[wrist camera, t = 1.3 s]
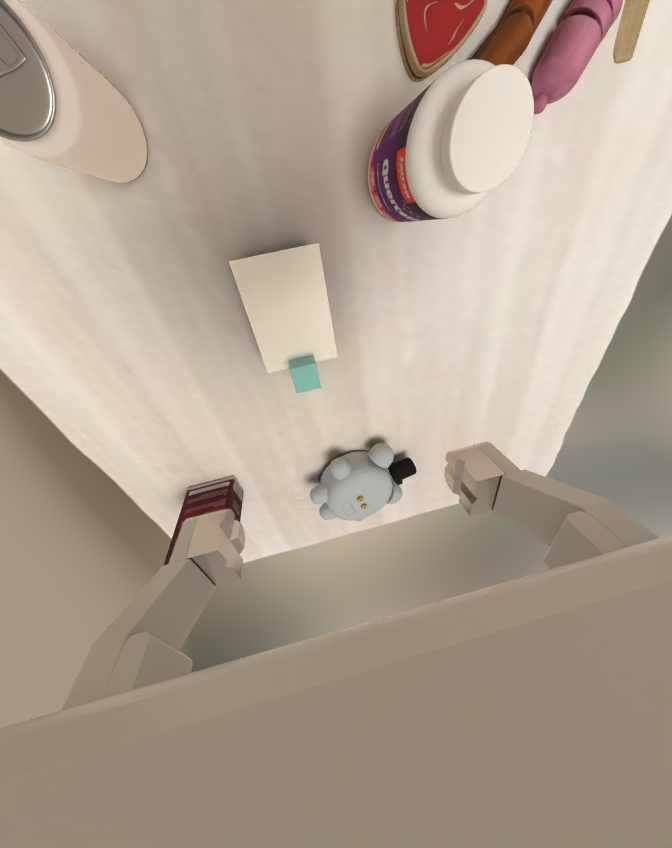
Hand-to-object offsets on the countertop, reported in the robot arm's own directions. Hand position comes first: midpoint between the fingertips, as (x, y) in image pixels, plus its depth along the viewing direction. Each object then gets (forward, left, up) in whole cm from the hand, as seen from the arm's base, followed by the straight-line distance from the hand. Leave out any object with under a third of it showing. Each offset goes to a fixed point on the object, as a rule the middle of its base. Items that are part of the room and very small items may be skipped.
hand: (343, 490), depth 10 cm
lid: (0, -1, -26) cm, 26 cm away
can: (-17, -12, -30) cm, 36 cm away
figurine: (+32, +5, -30) cm, 44 cm away
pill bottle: (-11, +14, -30) cm, 35 cm away
